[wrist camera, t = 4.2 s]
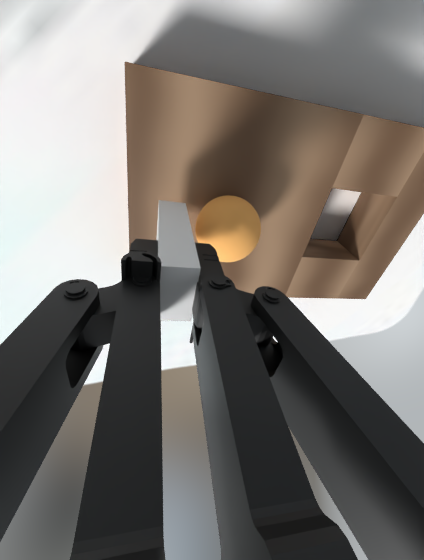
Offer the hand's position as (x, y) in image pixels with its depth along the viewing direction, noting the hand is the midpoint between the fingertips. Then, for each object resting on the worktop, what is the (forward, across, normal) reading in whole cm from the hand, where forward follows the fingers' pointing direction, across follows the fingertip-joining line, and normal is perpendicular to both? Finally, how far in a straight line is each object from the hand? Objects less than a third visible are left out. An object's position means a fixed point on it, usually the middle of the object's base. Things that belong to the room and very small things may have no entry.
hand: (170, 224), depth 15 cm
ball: (0, +4, 0) cm, 4 cm away
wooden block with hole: (+5, +8, 0) cm, 10 cm away
